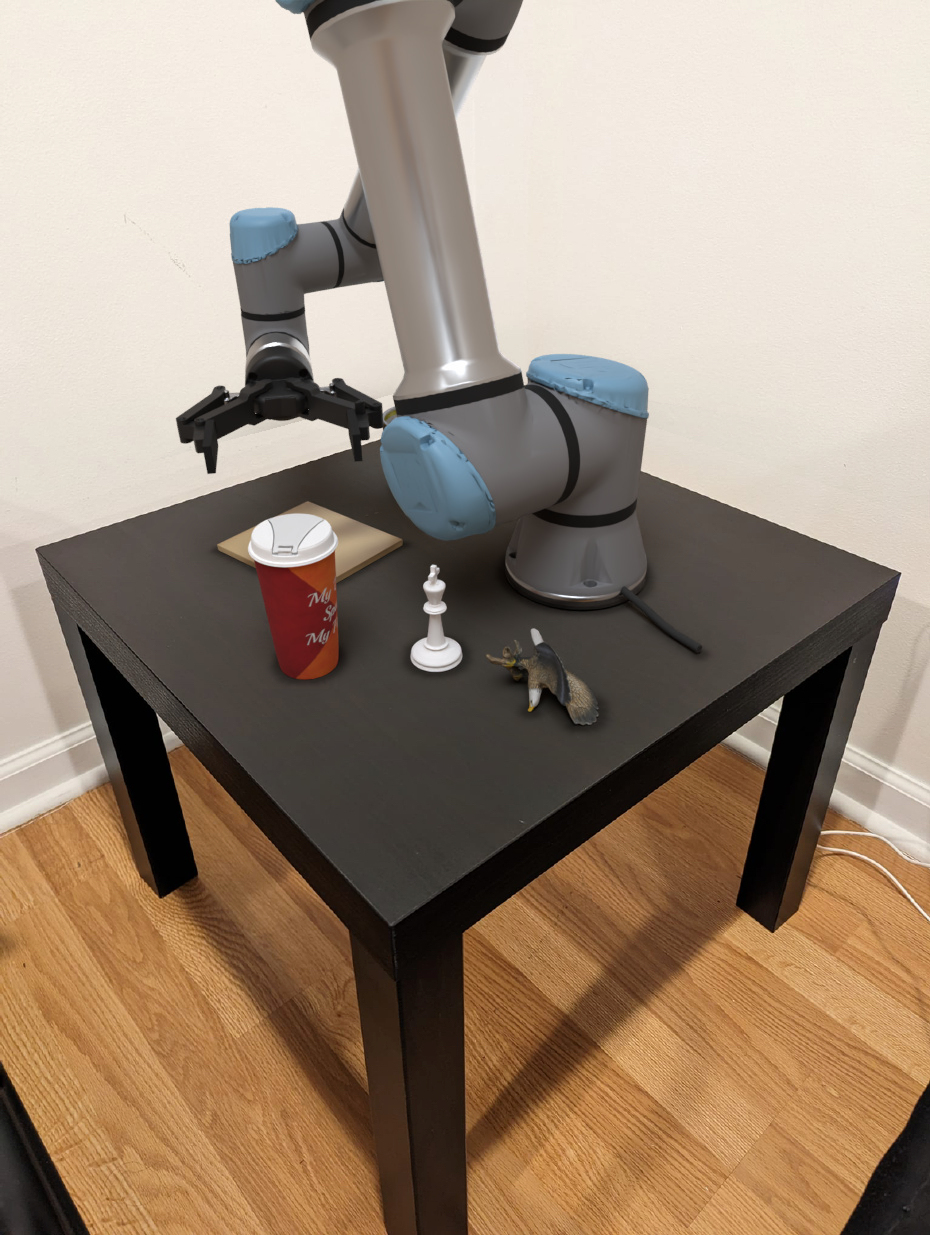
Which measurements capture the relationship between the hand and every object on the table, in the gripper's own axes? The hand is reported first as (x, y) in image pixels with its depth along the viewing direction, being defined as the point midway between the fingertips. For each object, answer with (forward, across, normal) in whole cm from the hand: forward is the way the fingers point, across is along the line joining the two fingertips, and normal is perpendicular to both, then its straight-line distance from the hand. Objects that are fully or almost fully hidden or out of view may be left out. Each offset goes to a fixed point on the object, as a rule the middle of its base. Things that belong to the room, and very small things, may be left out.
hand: (284, 454), depth 81 cm
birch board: (-12, -1, -17) cm, 21 cm away
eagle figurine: (+20, -20, -17) cm, 33 cm away
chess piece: (+12, -12, -17) cm, 24 cm away
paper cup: (+10, 0, -17) cm, 20 cm away
